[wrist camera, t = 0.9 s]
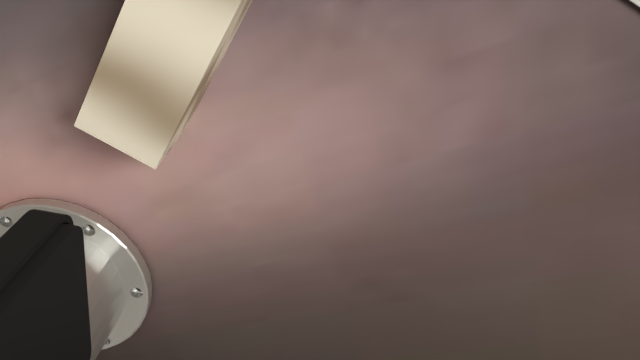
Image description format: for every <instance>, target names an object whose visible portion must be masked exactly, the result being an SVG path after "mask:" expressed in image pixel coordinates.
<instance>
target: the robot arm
mask: <svg viewBox="0 0 640 360" xmlns="http://www.w3.org/2000/svg"><path fill="white" fill-rule="evenodd" d="M151 299H152V283H151V276H150V273H149V270H148V268H147V265H146V262H145V260H144V259H143V257H142V255H141V254H140V252H139V250H138V249H137V247H136V246H135V245H134V244H133V242H132V241H131V240H130V239H129V238H128V237H127V236H126V234H124V233H123V232H122V231H121V230H120V229H119V228H117V227H116V226H115V225H114V224H113V223H111V222H110V221H108V220H107V219H105V218H103V217H102V216H100V215H99V214H97V213H95V212H93V211H91V210H88V209H86V208H84V207H82V206H79V205H77V204H73V203H69V202H65V201H61V200H55V199H45V198H36V199H24V200H20V201H16V202H13V203H9V204H7V205H5V206H4V207H2V208H0V360H96V358H97V356H98V354H99V353H100V351H101V350H102V349H107V348H110V347H113V346H115V345H118V344H120V343H122V342H123V341H125V340H126V339H128V338H129V337H131V336H132V335H133V334H134V333H135V332H136V330H137V329H138V328H139V327H140V326H141V324H142V322H143V320H144V318H145V317H146V315H147V312H148V310H149V307H150V304H151Z"/></svg>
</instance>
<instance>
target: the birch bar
mask: <svg viewBox="0 0 640 360" xmlns="http://www.w3.org/2000/svg"><path fill="white" fill-rule="evenodd" d="M252 1H253V0H125V2H124V4H123V7H122V9H121V12H120V14H119V16H118V19H117V21H116V24H115V26H114V29H113V31H112V34H111V36H110V38H109V41H108V43H107V46H106V48H105V51H104V53H103V56H102V58H101V60H100V63H99V65H98V68H97V70H96V73H95V75H94V78H93V80H92V83H91V85H90V87H89V90H88V92H87V95H86V97H85V100H84V102H83V105H82V107H81V109H80V112H79V114H78V117H77V119H76V122H75V124H74V126H75V127H77V128H79V129H81V130H82V131H84V132H86V133H88V134H90V135H92V136H94V137H95V138H97V139H99V140H101V141H103V142H105V143H107V144H109V145H110V146H112V147H114V148H116V149H118V150H120V151H122V152H123V153H125V154H127V155H129V156H131V157H133V158H135V159H137V160H138V161H140V162H142V163H144V164H146V165H148V166H150V167H152V168H153V169H156V168H157V167H158V165H159V164H160V163H161V161H162V160H163V159H164V157H165V156H166V154H167V153H168V152H169V150H170V149H171V148H172V146H173V145H174V144H175V142H176V141H177V139H178V138H179V137H180V135H181V134H182V133H183V131H184V130H185V129H186V127H187V126H188V124H189V122H190V120H191V118H192V116H193V114H194V112H195V110H196V108H197V106H198V105H199V103H200V101H201V99H202V97H203V95H204V93H205V91H206V89H207V87H208V85H209V83H210V81H211V80H212V78H213V76H214V74H215V72H216V70H217V68H218V66H219V64H220V62H221V60H222V58H223V56H224V54H225V53H226V51H227V49H228V47H229V45H230V43H231V41H232V39H233V37H234V35H235V33H236V31H237V29H238V28H239V26H240V24H241V22H242V20H243V18H244V16H245V14H246V12H247V10H248V8H249V6H250V4H251V2H252Z"/></svg>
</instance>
